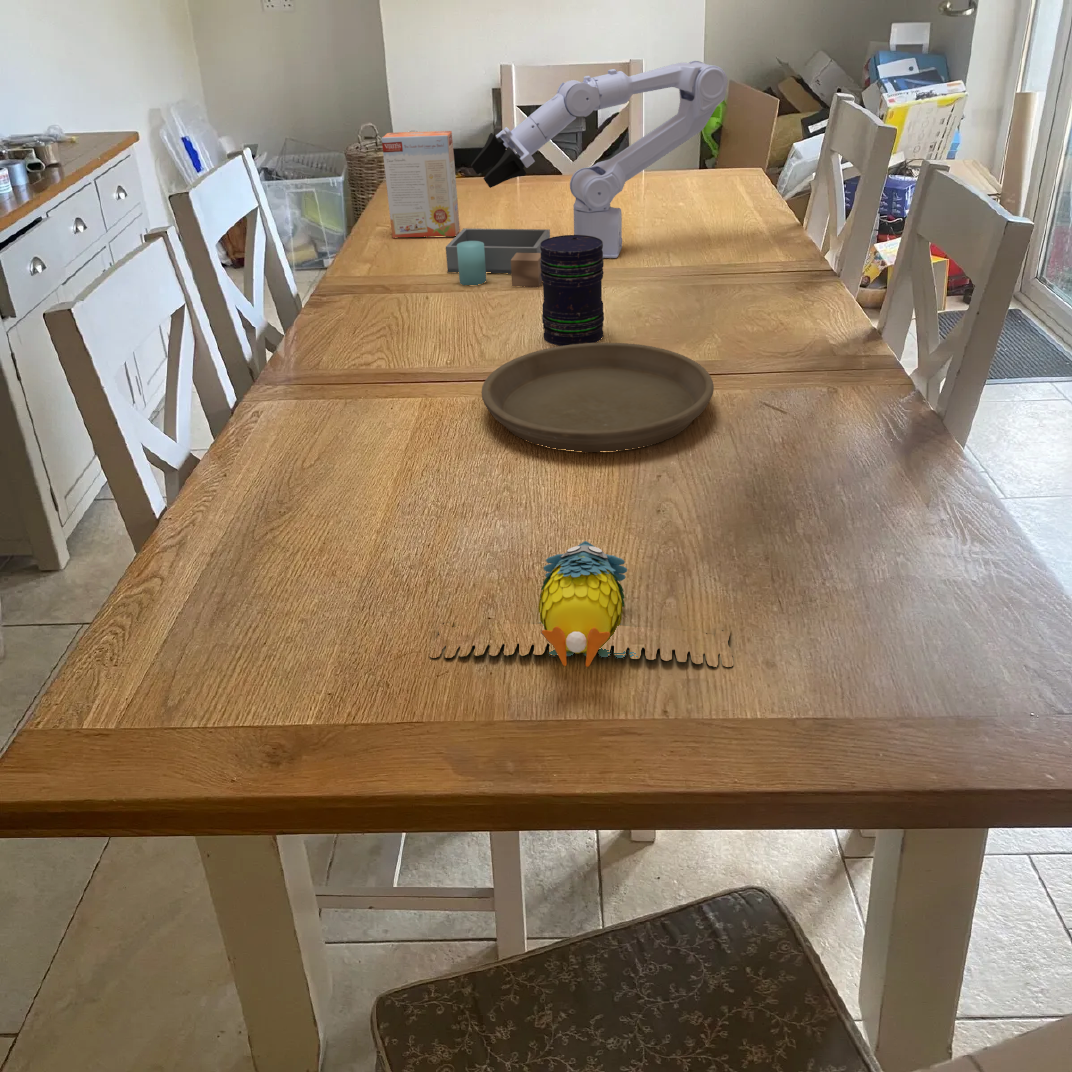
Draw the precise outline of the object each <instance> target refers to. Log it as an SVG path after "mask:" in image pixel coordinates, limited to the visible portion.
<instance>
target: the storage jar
mask: <svg viewBox="0 0 1072 1072" xmlns="http://www.w3.org/2000/svg"><path fill="white" fill-rule="evenodd" d="M602 248H603V241H602V240H601V239H599V238H596V237H593V236H586V235H574V234H565V235H557V236H552V237H551V236H550V238H548V239H545V240H543V241H542V242H541V243H540V249H541V260H540V267H541V279H542V281H543V282H542V288H543V289H542V290H543V291H542V292H543V293H542V294H543V302H542V305H541V306H542V314H541V317H542V318H541V319H542V322H541V323H542V326H543V328H542V329H543V331H544V332H543V335H542V336H543V339H544V341H545V342H546V343H548V344H551V345H553V344H554V346H557V347H559V346H565V345H572V344H583V343H595V342H596V343H598V342H600V341H601V340H602V339H603V338H602V337H604V329H603V328H604V321H605V313H604V301H603V300H602V292H603V290H602V288H603V287H602V286H603V285H602V280H603V278H604V273H605V272H604V261H605V260H604V258H603V251H602ZM601 338H602V339H601ZM599 340H600V341H599ZM597 341H598V342H597Z"/></svg>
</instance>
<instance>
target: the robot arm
mask: <svg viewBox="0 0 1072 1072" xmlns="http://www.w3.org/2000/svg"><path fill="white" fill-rule="evenodd" d="M667 88H675V89H678V92H679V107H678V112H677V113H676V114H675V115H674V116H672V117H670V118H669V119H668V120H666V121H665V122H663V123H662V124H660V125H659V126H657V127H656V128H654V129H653V130H652V131H651V130H650V132H649V133H647V134H645V135H644V136H641V138H639V139H638V140H636V141H635V142H633V143H631V144H630V145H629V146H627V147H626V148H624V149H623V150H621V151H620V152H619V153H617V154H615V155H614V156H612V157H611V158H609V159H604V160H602V161H598V162H596V163H595V164H593V165H592V166H589V167H582V168H579V169H577V170H576V171H575V172H574V173H573V174H572V176H571V177H570V178H571V179H570V181H569V189H570V192H571V195H572V196H573V197H574V198H575V200H574V203H573V204H572V205H573V235H586V236H593V237H596V238H599V239H601V240H602V241H603V248H602V251H603V259H605V258H606V259H607V258H608V259H611V258H612V259H616V258H618V257H619V254H620V253H621V250H622V248H623V237H622V233H623V232H622V231H623V230H622V229H623V226H622V223H623V222H622V221H623V218H622V214H623V213H622V208H619V207H613V206H611V203H612V201H613V200H614V198H615V197H616V196H617V195H618V194H619V193H621V192H622V191H623V190H624V187H625V184H626V182H628V181H629V180H631V179H632V178H634V177H635V176H637V175H638V174H640V173H642V171H644V170H646V169H648V168H649V167H650V166H651V165H653V164H655V163H656V162H657V161H659V160H661V159H662V158H663V157H665V156H667V155H668V154H669V153H671V152H673V151H674V150H675V149H677V148H678V147H680V146H681V145H683V144H684V143H686V142H688V141H689V140H690V139H692V138H693V137H695V136H696V135H698V134H699V133H701V132H702V131H704V129H705V127H706V125H707V123H708V122H709V120H710V118H711V117H712V115H713V113H714V112H715V111H716V109H717V107H718V106H719V105H720V104H721V103H722V102H724V101H725V98H726V93H727V88H728V76H727V73H726V72H725V71H724V69H723V68H722V67H720V66H718V65H714V64H713V65H711V64H707V63H704V62H702V61H700V60H691V61H690V62H683V61H681V62H676V63H672V64H669V65H665V66H662V67H658V68H654V69H651V70H647V71H643V72H640V73H637V74H633V75H630V76H629V75H627V74H626V73H625V72H624V71H622V70H619V71H617V69H615V68H612V69H611V68H610V69H608V70H607V73H606V74H602V75H596V76H593V77H591V75H585V76H583V81H579V80H577V79H576V80H575V79H572V80H571V79H570V80H567V81H565V82H563V81H562V82H561V84H560V85H559V86H558V88H557V91H556V94H555V95H553V96H552V97H551V98H550V99H549V100H547V101H545V102H544V103H543V104H542V105H541V106H539V107H538V108H537V109H535V110H534V111H533V112H532V113H531V114H529V116H527V117H526V118H525V119H523V120H522V121H521V122H520V123H518V124H517V125H516V126H515V127H513V129H511V130H510V128H508V127H507V126H505V128H503V129H502V130H501V131H500V132H498V133H497V134H496V135H495V134H494V133H493V132H490V134H488V137H487V140H486V141H485V144H484V145H483V148H481V150H480V152H479V154H478V155H477V156H476V157H475V158H474V160H472V163H471V165H470V166H471V168H472V169H473V170H474V172H475V174H476V175H479V174H482V173H484V172H485V171H487V170H488V169H490V168H491V167H492V166H493V167H492V168H491V169H490V170H489V171H487V173H486V175H485V176H484V177H483V180H484V182H485V184H486V185H487V186H488V187H489V188H490V189H491V188H493V187H495V186H497V185H499V184H502V183H504V182H506V181H509V180H512V179H515V178H519V177H525V176H526V175H527V171H526V170H525V169H524V168H526V169H527V168H529V167H530V166H531V165H533V164H534V163H535V162H536V161H535V159H534V157H533V156H532V155H534V154H535V153H536V152H537V151H539V150H540V149H541V148H542V147H543V146H545V145H546V144H547V143H549V141H551V140H552V139H553V138H554V137H556V136H557V135H559V134H560V133H561V132H562V131H563V130H564V129H566V127H567V126H568V125H569V124H571V123H572V122H573V121H574V120H576V119H577V117H584V118H586V117H588V116H590V115H591V114H592V113H593V111H600V110H604V109H607V108H608V109H609V108H612V107H618V106H620V105H625V104H627V103H628V102H629V100H630V99H631V97H632V96H633V95H637V94H642V93H647V92H653V91H657V90H658V91H659V90H663V89H664V90H665V89H667Z"/></svg>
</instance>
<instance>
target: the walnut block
mask: <svg viewBox="0 0 1072 1072" xmlns="http://www.w3.org/2000/svg"><path fill="white" fill-rule="evenodd" d="M540 260H541V253H516V254H515V255H514V257H513V258H512V259H511V274H510V276H511V287H512V286H522V287H521V288H537V287H539V288H540V286H541V285H542V284H543V282H542V279H541V267H540ZM524 286H525V287H524Z"/></svg>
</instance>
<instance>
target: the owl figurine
mask: <svg viewBox="0 0 1072 1072" xmlns="http://www.w3.org/2000/svg"><path fill="white" fill-rule="evenodd" d="M545 562H546V563H547V564H545V565H544V566H543V570H544V571H545V572H546V573H545V578H544V580H543V582H542V584H543V585H542V587H541V592H540V595H539V602H538V606H537V609H538V611H537V612H538V613H539V621H540V623H542V624H543V626H544V629H545V630H542V631H541V634H542V635H543V636H544V637H545V638H546V640H547V641H548V642H549V643H551V644H552V645H553V647H554V648H555V650H553V651H551V652H549V654H552V655H557V654H558V658H559V659H560V662H561V664H562V666H564V667H566V666H567V664H568V663H567V657H571V655H572V656H574V655H575V654H576V655H577V654H581V653H583V655H584V656H585V667H586V668H588V667H590V666H591V664H592V662H593V660H594V658H595V657H596V655H598V654H599V655H600V656H601V657H600V656H599V655H598V656H599V657H600V658H602V657H608V654H612V652H611V653H610V652H607V651H609V650H606V649H604V650H603V649H602V648H601V647H602V646H603V645H604V644H605V643H606V642H607V641H608V640H609V639H610V637H611V636H612V635H613V634H614V632H615V630H616V628H617V626H619V625H621V623H622V617H623V614H624V613H623V612H624V611H623V609H624V607H625V600H624V598H625V594H624V592H625V591H624V588H623V586H622V584H621V582H622V581H624V580H625V579H626V575H625V573H627V572H628V568H627V567H625V566H623V565H624V564H625V563H626V562H625V560H624V559H623V558H621V557H618V556H616V555H613V554H612V555H611V554H607V553H605V552H604V551H603V550H602V549H601V548H599V547H596V546H595V545H593V543H590V542H589V541H587V540H584V541H583V542H581V543H579V544H578V545H576V546H572V547H570V548H568V549H567V550H566V552H564V553H560V554H559V553H557V554H555V555H552V556H549V557H547V558H546V559H545ZM599 648H601V649H599ZM598 650H599V651H598ZM574 653H575V654H574ZM597 653H598V654H597ZM625 653H626V652H625V651H624V652H623V653H614V652H613V655H614V654H625ZM632 653H634V652H630V653H629V652H628V655H629V654H632ZM573 654H574V655H573ZM634 654H636V653H634ZM609 656H611V655H609ZM615 656H616V657H617V658H616V657H615V658H616V659H618V658H622V657H625V655H624V656H623V655H615ZM632 656H634V655H633V654H632V655H630V657H632ZM636 657H638V656H636ZM608 658H609V657H608ZM625 658H626V657H625Z"/></svg>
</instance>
